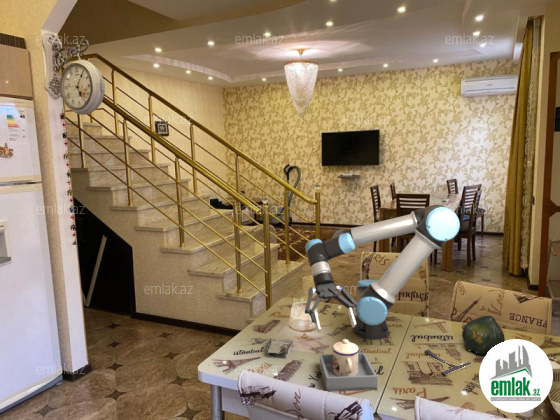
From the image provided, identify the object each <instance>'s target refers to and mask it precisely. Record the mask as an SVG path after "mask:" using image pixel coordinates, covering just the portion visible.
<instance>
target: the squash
mask: <svg viewBox="0 0 560 420" xmlns="http://www.w3.org/2000/svg"><path fill="white" fill-rule="evenodd" d="M462 340H463V342H464V344H465V348H466V349H467V350H468V351H469V350H470V352H471V351H476V352H475V353H476V354H478V355H483V354H486V353H487V352H488V351H489V350H490V349H491V348H492V347H494V346H495V345H497V344H499V343H501V342H504V341H505V342H506V340H505V334H504V331H503V329H502V328H501V326H500V325H499V323H498V322H497V320H496V319H495V317H494V316H493V315H484V316H480V317H477V318H474V319H472V320H470V321H468V322H466V324H465V325H464V327H463V329H462ZM484 352H485V353H484Z"/></svg>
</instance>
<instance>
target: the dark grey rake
mask: <svg viewBox="0 0 560 420" xmlns="http://www.w3.org/2000/svg"><path fill="white" fill-rule="evenodd" d="M424 353H425V354H426V353H427V354H428V355H429V356H431V357H433V358H435V359H437V360H439V361H441V362H443V361H444V362H443V363H445V361H446V360H444V359H442V358H440V357H439V356H437V355H436V354H435V353H434V352H432V351H431V350H430V349H426V350H424V352H423V354H424ZM464 363H465V362H464ZM446 364H448V363H446ZM469 364H472V362H470V361H468V362H466V363H465V364H463V365H460V366H455V365H452V364H448V365H449V366H451V367H453V368H452V369H451V368H450V369H449V368H448V369H449V370H446V371H444V372H442V371H441V372H440V374H441V373H443V374H442V375H443V376H444V375H446V374H448V373H450V372H452V371H454V370H457V369H459V368H462V367H464V366H466V365H469Z"/></svg>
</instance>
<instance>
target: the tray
mask: <svg viewBox="0 0 560 420" xmlns="http://www.w3.org/2000/svg"><path fill="white" fill-rule="evenodd" d="M318 357H319V359H318V360H319V365H318V366H319V369H320V373H321V376H322V381H323V382H324V386H325V391H326V392H344V391H345V392H346V391H347V392H348V391H351V392H352V391H364V390H363V389H377V390H378V375H377V373H376V371H375V369H374V367H373V366H372V364H371V362H370V360H369V358H368V357H367V355H366V353H365V352H358V374H357V375H356V376H341V377H339V376H337V375H336V374H335V373H334V372H333V353H320V354H319V356H318Z"/></svg>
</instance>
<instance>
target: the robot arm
mask: <svg viewBox="0 0 560 420" xmlns="http://www.w3.org/2000/svg"><path fill="white" fill-rule="evenodd" d="M460 227H461V226H460V219H459V217H458V216H457V214H456V212H455V211H453V210H451V209H450V208H448V207H446V206H445V205H442V204H441V205H440V204H433V205H429V206H426V207H422V208H419V209H416V210H412V211H411V212H410V214H406V215H402V216H397V217H393V218H390V219H389V218H388V219H386V220H385V219H384V220H380V221H377V222H373V223H369V224H365V225H360V226H355V227H352V228H348V229H339V230H337V231H335V232H334V233H333V234H332V237H331V238H330V239H328V240H326V241H322V240H321V239H319V238H314V239H311V240H309V241H307V242H306V243H305V245H304V247H305V248H304V249H305V254H306V258H307V261H308V264H309V268H310V272H311V277H312V278H313V283H314V287H315V288H313V287H311V286H310V287H309V288H308V296H307V300H306V304H305V309H304V313H305V314H306V315H309V316H310V319H311V323H313V324H314V325H315V328H316V332H317V333H319V332H320V331H321V329H322V328H321V325H320V324H321V323H320V320H319V317H318V312H317V311H315V310H316V308H317V307H318V305H319V303H320V302H321V300H322V299H323V300H327V299H329V300H331V299H334V300H336V301H337V302H339V303H340V304H341V305H342V306H344V307H345V308H347V314H348V317H349V320H350V321H349V322H350V324H351V327H352V333H353V334H355V335H356V336H357V337H359V338H362V339H366V340H381V339H384V338H386V337H388V336H387V335H389V326H388V323H387V320H386V319H387V317H388V313H389V311H390V309H392V307H393V306H394V304H395V303H396V296H397V295H398V293H399V292H401V290H402V289H403V288H404V286H405V285H406V284H407V283H408V282H409V280H410V279H411V278H412V277H413V275H415V273H416V272H417V271H418V270H419V268H420V267H421V266H423V263H424V262H425V261H426V260H427V259H428V258H429V257H430V255H431V254H432V253H433V252H434V250H436V249H442V247H443V246H444V245H445V244H446V243H447V242H448V241H451V240H453V239H454V238H455V237H456V236H458V233H459V231H460ZM412 233H414V234H415V235H414V236H413V238H411V240H410V241H409V242H408V243H407V244H406V246H405V247H404V249H402V251H401V252H400V253H399V254H398V256H397V257H396V258H395V260H394V261H393V262H392V263H391V264H390V266H389V267H388V268H387V269H386V271H385V272H384V273H383V274H382V275H381V277H380V278H379V279H361V280H358V282H357V286H356V288H357V292H356V293H357V294H356V300H355V299H354V298H353V296H352V295H351V294H350V293H349V292H348V290H347V289H346V288H345V286H344V284H343V283H340V285H336V284H335V280H334V277H333V274H332V271H331V267H330V265H329V261H330V260H333V259H335V258H337V257H340V256H343V255H346V254H348V253H350V252H352V251H354V250H356V246H359V245H364V244H368V243H372V242H376V241H381V240H385V239H390V238H394V237H399V236H400V237H401V236H404V235H409V234H412ZM314 294H317V299H316V301H314V304H313V306H312V308H311V303H312V300H313V295H314ZM355 310H356V311H355Z"/></svg>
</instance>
